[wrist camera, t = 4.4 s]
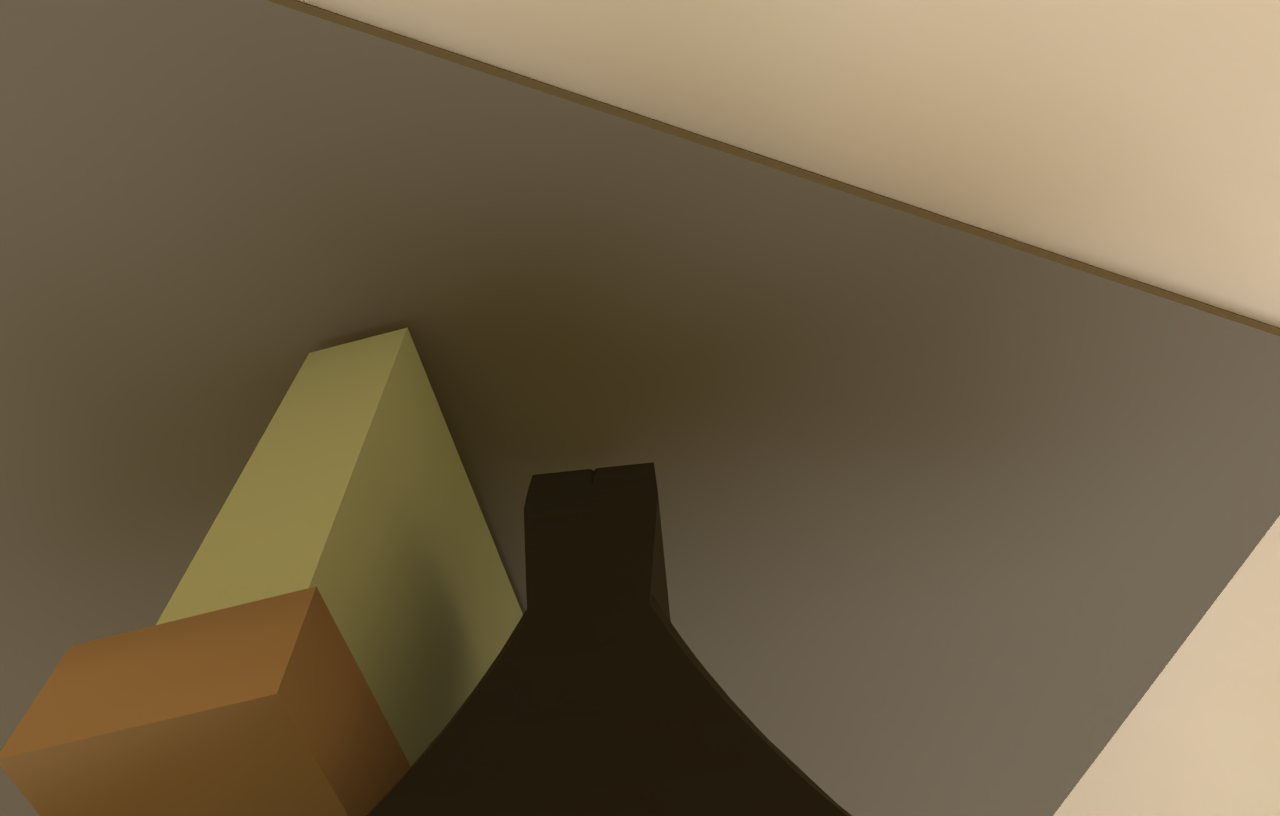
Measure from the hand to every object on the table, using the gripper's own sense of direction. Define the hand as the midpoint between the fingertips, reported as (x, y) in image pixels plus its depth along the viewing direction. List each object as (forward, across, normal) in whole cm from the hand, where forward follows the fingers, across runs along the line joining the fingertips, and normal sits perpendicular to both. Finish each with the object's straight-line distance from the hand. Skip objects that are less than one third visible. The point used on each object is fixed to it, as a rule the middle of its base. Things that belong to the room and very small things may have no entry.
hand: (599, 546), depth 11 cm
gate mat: (+3, +1, +4) cm, 5 cm away
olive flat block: (+2, +2, +3) cm, 4 cm away
